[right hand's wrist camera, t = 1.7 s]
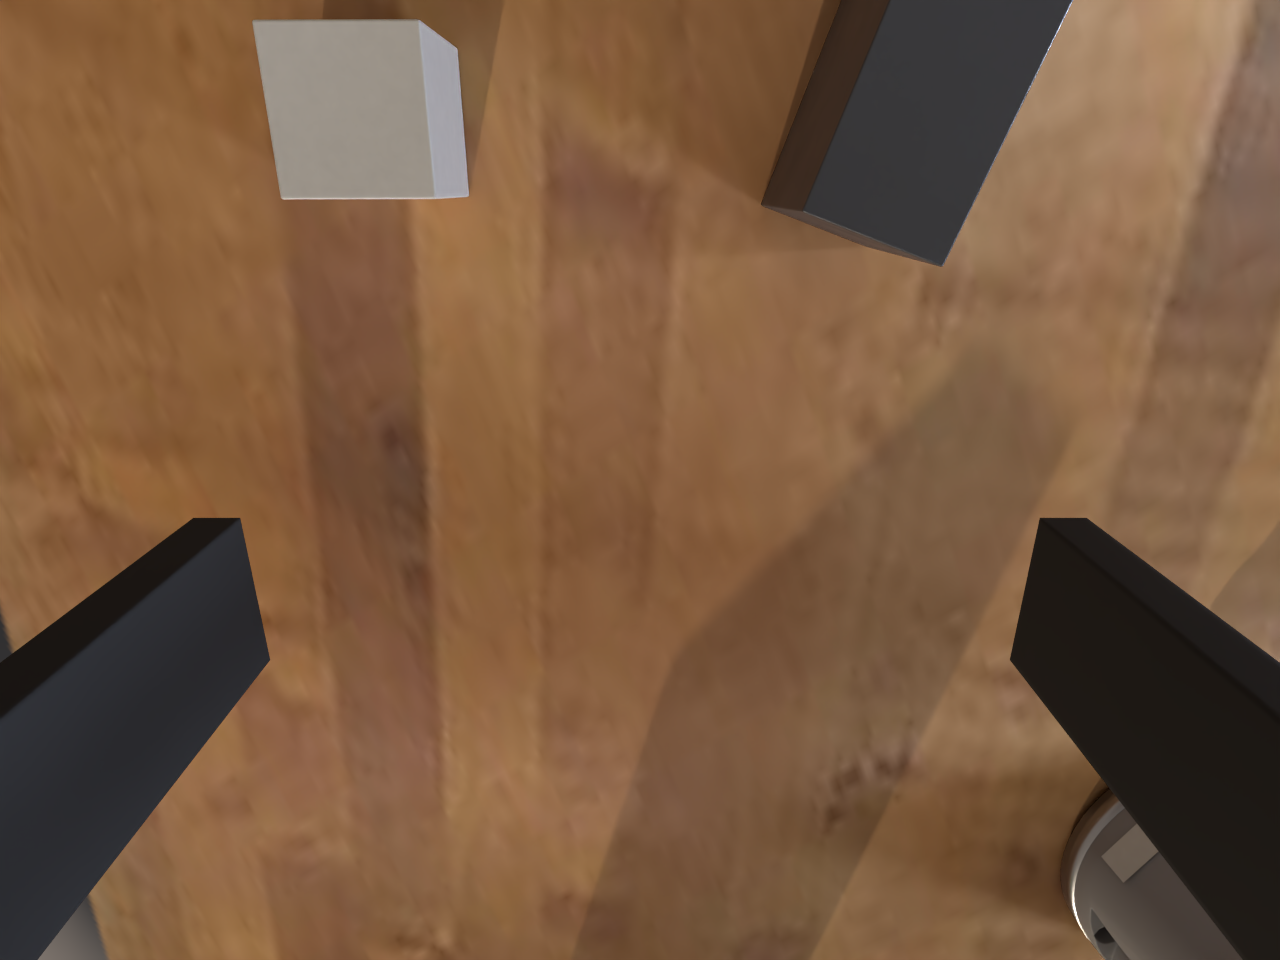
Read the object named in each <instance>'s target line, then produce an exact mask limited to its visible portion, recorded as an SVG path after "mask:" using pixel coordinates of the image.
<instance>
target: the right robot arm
mask: <svg viewBox="0 0 1280 960" xmlns="http://www.w3.org/2000/svg"><path fill="white" fill-rule="evenodd" d="M269 661H270V657H269V652H268V648H267V643H266V638H265V633H264V629H263V624H262V619H261V615H260V610H259V605H258V600H257V596H256V591H255V586H254V581H253V577H252V572H251V567H250V563H249V558H248V553H247V548H246V544H245V539H244V534H243V529H242V525H241V520H240V518H193V519H191V520H190V521H189V522H187V523H186V524H185V525H183V526H182V527H181V528H179V529H178V530H177V531H175V532H174V533H173V534H171V535H170V536H169V537H167V538H166V539H165V540H163V541H162V542H161V543H159V544H158V545H157V546H155V547H154V548H153V549H151V550H150V551H149V552H147V553H146V554H145V555H143V556H142V557H141V558H139V559H138V560H137V561H135V562H134V563H133V564H131V565H130V566H129V567H127V568H126V569H125V570H123V571H122V572H121V573H119V574H118V575H117V576H115V577H114V578H113V579H111V580H110V581H109V582H107V583H106V584H105V585H103V586H102V587H101V588H99V589H98V590H97V591H95V592H94V593H93V594H91V595H90V596H89V597H87V598H86V599H85V600H83V601H82V602H81V603H79V604H78V605H77V606H75V607H74V608H73V609H71V610H70V611H69V612H67V613H66V614H65V615H63V616H62V617H61V618H59V619H58V620H57V621H55V622H54V623H53V624H51V625H50V626H49V627H47V628H46V629H45V630H43V631H42V632H41V633H39V634H38V635H37V636H35V637H34V638H33V639H31V640H30V641H29V642H27V643H26V644H25V645H23V646H22V647H21V648H19V649H18V650H17V651H15V652H14V653H13V654H11V655H10V656H9V657H7V658H6V659H5V660H3V661H2V662H1V663H0V960H38V958H39V957H40V956H41V954H42V953H43V952H44V951H45V949H46V948H47V947H48V945H49V944H50V943H51V942H52V940H53V939H54V938H55V936H56V935H57V934H58V933H59V931H60V930H61V929H62V927H63V926H64V925H65V923H66V922H67V921H68V920H69V918H70V917H71V916H72V914H73V913H74V912H75V911H76V909H77V908H78V907H79V905H80V904H81V903H82V902H83V900H84V899H85V898H86V896H87V895H88V894H89V893H90V891H91V890H92V889H93V887H94V886H95V885H96V884H97V882H98V881H99V880H100V878H101V877H102V876H103V875H104V873H105V872H106V871H107V869H108V868H109V867H110V865H111V864H112V863H113V862H114V860H115V859H116V858H117V856H118V855H119V854H120V853H121V851H122V850H123V849H124V847H125V846H126V845H127V844H128V842H129V841H130V840H131V838H132V837H133V836H134V835H135V833H136V832H137V831H138V829H139V828H140V827H141V826H142V824H143V823H144V822H145V820H146V819H147V818H148V817H149V815H150V814H151V813H152V811H153V810H154V809H155V808H156V806H157V805H158V804H159V802H160V801H161V800H162V798H163V797H164V796H165V795H166V793H167V792H168V791H169V789H170V788H171V787H172V786H173V784H174V783H175V782H176V780H177V779H178V778H179V777H180V775H181V774H182V773H183V771H184V770H185V769H186V768H187V766H188V765H189V764H190V762H191V761H192V760H193V759H194V757H195V756H196V755H197V753H198V752H199V751H200V750H201V748H202V747H203V746H204V744H205V743H206V742H207V740H208V739H209V738H210V737H211V735H212V734H213V733H214V731H215V730H216V729H217V728H218V726H219V725H220V724H221V722H222V721H223V720H224V719H225V717H226V716H227V715H228V713H229V712H230V711H231V710H232V708H233V707H234V706H235V704H236V703H237V702H238V701H239V699H240V698H241V697H242V695H243V694H244V693H245V692H246V690H247V689H248V688H249V686H250V685H251V684H252V682H253V681H254V680H255V679H256V677H257V676H258V675H259V673H260V672H261V671H262V670H263V668H264V667H265V666H266V664H267V663H268V662H269ZM1010 661H1011V662H1012V663H1013V664H1014V666H1015V667H1016V668H1017V670H1018V671H1019V672H1020V673H1021V675H1022V676H1023V677H1024V679H1025V680H1026V681H1027V682H1028V684H1029V685H1030V686H1031V688H1032V689H1033V690H1034V692H1035V693H1036V694H1037V695H1038V697H1039V698H1040V699H1041V701H1042V702H1043V703H1044V704H1045V706H1046V707H1047V708H1048V710H1049V711H1050V712H1051V713H1052V715H1053V716H1054V717H1055V719H1056V720H1057V721H1058V722H1059V724H1060V725H1061V726H1062V728H1063V729H1064V730H1065V731H1066V733H1067V734H1068V735H1069V737H1070V738H1071V739H1072V740H1073V742H1074V743H1075V744H1076V746H1077V747H1078V748H1079V750H1080V751H1081V752H1082V753H1083V755H1084V756H1085V757H1086V759H1087V760H1088V761H1089V762H1090V764H1091V765H1092V766H1093V768H1094V769H1095V770H1096V771H1097V773H1098V774H1099V775H1100V777H1101V778H1102V779H1103V780H1104V782H1105V783H1106V784H1107V786H1108V787H1109V788H1110V789H1109V790H1108V791H1106V792H1105V793H1104V794H1103V795H1102V796H1101V797H1100V798H1099V799H1098V800H1097V801H1096V802H1095V803H1094V804H1093V805H1092V806H1091V807H1090V808H1089V809H1088V811H1087V812H1086V813H1085V814H1084V815H1083V817H1082V818H1081V819H1080V821H1079V822H1078V824H1077V825H1076V827H1075V829H1074V830H1073V832H1072V834H1071V836H1070V838H1069V840H1068V843H1067V845H1066V848H1065V851H1064V855H1063V858H1062V864H1061V886H1062V891H1063V895H1064V898H1065V901H1066V903H1067V905H1068V907H1069V909H1070V911H1071V913H1072V914H1073V916H1074V918H1075V919H1076V921H1077V923H1078V924H1079V926H1080V928H1081V929H1082V931H1083V933H1084V934H1085V936H1086V937H1087V938H1088V939H1089V941H1090V942H1091V943H1092V944H1093V946H1094V947H1095V948H1096V949H1097V951H1098V952H1099V953H1100V955H1101V956H1102V957H1103V958H1104V959H1105V960H1280V663H1279V662H1278V661H1277V660H1275V659H1274V658H1273V657H1271V656H1270V655H1269V654H1267V653H1266V652H1265V651H1263V650H1262V649H1261V648H1259V647H1258V646H1257V645H1255V644H1254V643H1253V642H1251V641H1250V640H1249V639H1247V638H1246V637H1245V636H1243V635H1242V634H1241V633H1239V632H1238V631H1237V630H1235V629H1234V628H1233V627H1231V626H1230V625H1229V624H1227V623H1226V622H1225V621H1223V620H1222V619H1221V618H1219V617H1218V616H1217V615H1215V614H1214V613H1213V612H1211V611H1210V610H1209V609H1207V608H1206V607H1205V606H1203V605H1202V604H1201V603H1199V602H1198V601H1197V600H1195V599H1194V598H1193V597H1191V596H1190V595H1189V594H1187V593H1186V592H1185V591H1183V590H1182V589H1181V588H1179V587H1178V586H1177V585H1175V584H1174V583H1173V582H1171V581H1170V580H1169V579H1167V578H1166V577H1165V576H1163V575H1162V574H1161V573H1159V572H1158V571H1157V570H1155V569H1154V568H1153V567H1151V566H1150V565H1149V564H1147V563H1146V562H1145V561H1143V560H1142V559H1141V558H1139V557H1138V556H1137V555H1135V554H1134V553H1133V552H1131V551H1130V550H1129V549H1127V548H1126V547H1125V546H1123V545H1122V544H1121V543H1119V542H1118V541H1117V540H1115V539H1114V538H1113V537H1111V536H1110V535H1109V534H1107V533H1106V532H1105V531H1103V530H1102V529H1101V528H1099V527H1098V526H1097V525H1095V524H1094V523H1093V522H1091V521H1090V520H1089V519H1087V518H1040V520H1039V525H1038V529H1037V534H1036V539H1035V544H1034V548H1033V553H1032V558H1031V563H1030V567H1029V572H1028V577H1027V581H1026V586H1025V591H1024V596H1023V600H1022V605H1021V610H1020V615H1019V619H1018V624H1017V629H1016V633H1015V638H1014V643H1013V648H1012V652H1011V657H1010Z"/></svg>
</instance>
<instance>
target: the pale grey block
mask: <svg viewBox="0 0 1280 960" xmlns="http://www.w3.org/2000/svg"><path fill="white" fill-rule="evenodd" d="M252 23H253V29H254V35H255V42H256V48H257V54H258V60H259V66H260V72H261V78H262V85H263V91H264V97H265V103H266V109H267V115H268V121H269V127H270V134H271V140H272V146H273V152H274V158H275V164H276V170H277V176H278V183H279V189H280V195H281V198H282V199H442V198H458V197H468V196H469V189H468V176H467V163H466V151H465V138H464V125H463V113H462V100H461V87H460V74H459V62H458V49H457V48H456V47H455V46H454V45H452V44H451V43H450V42H448V41H447V40H446V39H444V38H443V37H442V36H440V35H439V34H438V33H436V32H435V31H434V30H432V29H431V28H430V27H428V26H427V25H426V24H424V23H423V22H422V21H420V20H418V19H325V20H253V21H252Z"/></svg>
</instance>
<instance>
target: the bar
mask: <svg viewBox="0 0 1280 960" xmlns="http://www.w3.org/2000/svg"><path fill="white" fill-rule="evenodd" d="M1072 1H1073V0H841V3H840V5H839V8H838V10H837V13H836V15H835V18H834V20H833V23H832V26H831V28H830V31H829V33H828V36H827V38H826V41H825V43H824V46H823V48H822V51H821V53H820V56H819V59H818V61H817V64H816V66H815V69H814V71H813V74H812V76H811V79H810V81H809V84H808V86H807V89H806V91H805V94H804V97H803V99H802V102H801V104H800V107H799V109H798V112H797V114H796V117H795V119H794V122H793V124H792V127H791V130H790V132H789V135H788V137H787V140H786V142H785V145H784V147H783V150H782V152H781V155H780V157H779V160H778V163H777V165H776V168H775V170H774V173H773V175H772V178H771V180H770V183H769V185H768V188H767V190H766V193H765V196H764V198H763V201H762V203H761V205H762V206H764V207H766V208H769V209H772V210H774V211H777V212H779V213H782V214H784V215H787V216H789V217H792V218H795V219H797V220H800V221H802V222H805V223H807V224H810V225H812V226H815V227H817V228H820V229H823V230H825V231H828V232H830V233H833V234H835V235H838V236H840V237H843V238H845V239H848V240H851V241H853V242H856V243H858V244H861V245H863V246H866V247H870V248H873V249H877V250H881V251H884V252H888V253H892V254H896V255H899V256H903V257H907V258H910V259H914V260H918V261H922V262H925V263H929V264H933V265H936V266H940V267H942V266H943V265H944V263H945V261H946V259H947V257H948V255H949V253H950V251H951V249H952V247H953V244H954V242H955V240H956V238H957V236H958V234H959V232H960V230H961V228H962V226H963V224H964V222H965V220H966V218H967V216H968V214H969V212H970V210H971V208H972V206H973V204H974V202H975V200H976V197H977V195H978V193H979V191H980V189H981V187H982V185H983V183H984V181H985V179H986V177H987V175H988V173H989V171H990V169H991V167H992V165H993V163H994V161H995V159H996V157H997V155H998V153H999V151H1000V148H1001V146H1002V144H1003V142H1004V140H1005V138H1006V136H1007V134H1008V132H1009V130H1010V128H1011V126H1012V124H1013V122H1014V120H1015V118H1016V116H1017V114H1018V112H1019V110H1020V108H1021V106H1022V104H1023V102H1024V99H1025V97H1026V95H1027V93H1028V91H1029V89H1030V87H1031V85H1032V83H1033V81H1034V79H1035V77H1036V75H1037V73H1038V71H1039V69H1040V67H1041V65H1042V63H1043V61H1044V59H1045V57H1046V55H1047V52H1048V50H1049V48H1050V46H1051V44H1052V42H1053V40H1054V38H1055V36H1056V34H1057V32H1058V30H1059V28H1060V26H1061V24H1062V22H1063V20H1064V18H1065V16H1066V14H1067V12H1068V10H1069V8H1070V6H1071V3H1072Z"/></svg>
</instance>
